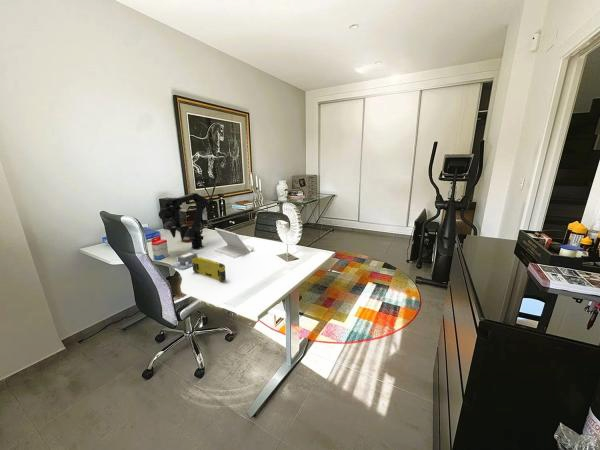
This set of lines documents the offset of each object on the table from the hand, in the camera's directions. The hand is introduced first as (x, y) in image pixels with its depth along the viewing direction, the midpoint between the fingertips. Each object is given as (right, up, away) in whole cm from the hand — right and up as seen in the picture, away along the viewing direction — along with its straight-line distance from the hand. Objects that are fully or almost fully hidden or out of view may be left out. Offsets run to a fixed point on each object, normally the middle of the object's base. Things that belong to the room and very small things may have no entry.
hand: (178, 238), depth 170 cm
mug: (-6, -3, +38) cm, 38 cm away
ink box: (-10, -13, -2) cm, 17 cm away
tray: (+13, -16, -13) cm, 25 cm away
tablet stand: (+36, -10, +11) cm, 39 cm away
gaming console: (+33, -20, -30) cm, 50 cm away
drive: (+13, -15, -14) cm, 24 cm away
